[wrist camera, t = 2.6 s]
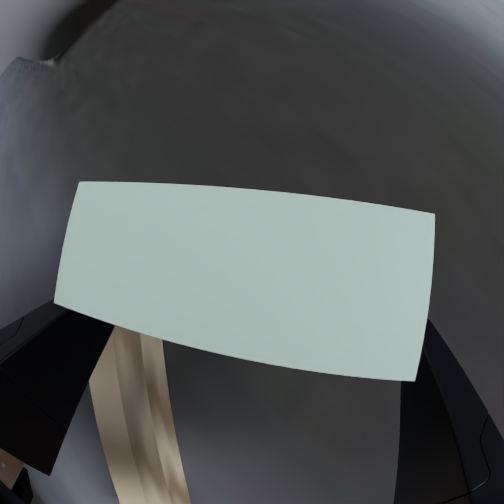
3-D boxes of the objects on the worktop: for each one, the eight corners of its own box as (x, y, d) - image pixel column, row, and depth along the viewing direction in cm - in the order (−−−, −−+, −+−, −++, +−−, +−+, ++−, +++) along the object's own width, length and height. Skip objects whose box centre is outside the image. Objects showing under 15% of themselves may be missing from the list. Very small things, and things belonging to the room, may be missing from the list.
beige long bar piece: (195, 521, 15) (168, 559, 10) (170, 516, 15) (140, 552, 10) (155, 224, 19) (109, 200, 14) (129, 229, 19) (81, 208, 14)
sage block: (340, 325, 16) (414, 381, 4) (225, 306, 17) (53, 302, 5) (347, 279, 16) (434, 214, 4) (232, 263, 17) (79, 181, 5)
